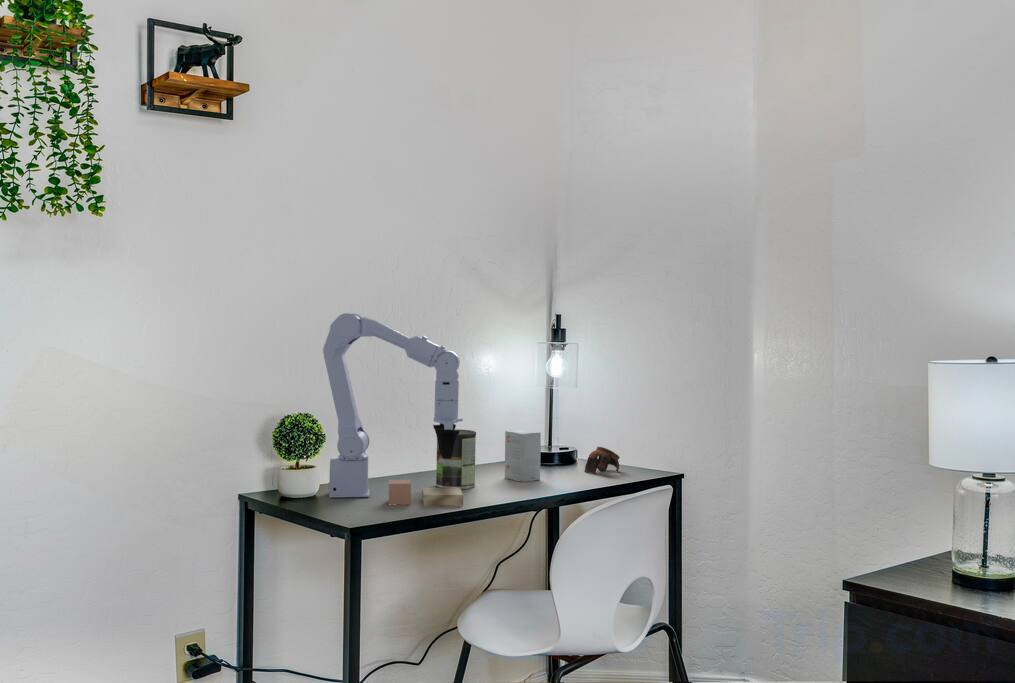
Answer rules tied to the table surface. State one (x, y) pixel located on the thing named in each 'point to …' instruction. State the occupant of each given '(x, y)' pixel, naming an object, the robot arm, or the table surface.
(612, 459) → the brown arch
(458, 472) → the coffee can
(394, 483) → the terracotta cube
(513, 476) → the small box
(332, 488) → the robot arm
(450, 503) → the oak block
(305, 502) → the table surface
